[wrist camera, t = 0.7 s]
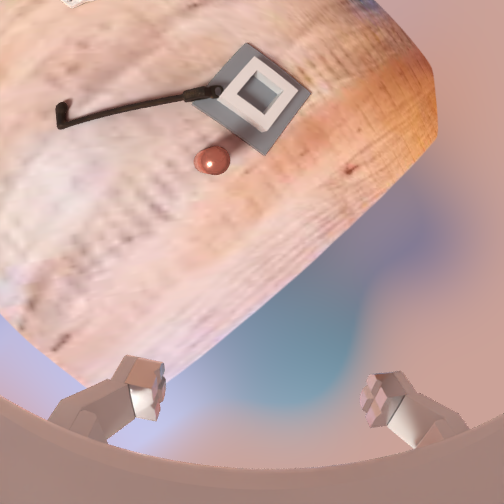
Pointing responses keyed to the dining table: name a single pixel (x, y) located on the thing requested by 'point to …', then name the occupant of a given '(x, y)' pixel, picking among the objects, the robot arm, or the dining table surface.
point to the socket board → (254, 98)
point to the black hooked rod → (138, 105)
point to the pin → (212, 160)
